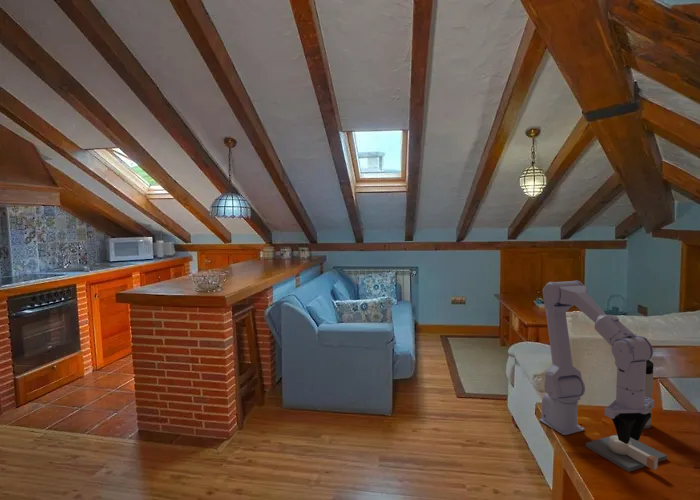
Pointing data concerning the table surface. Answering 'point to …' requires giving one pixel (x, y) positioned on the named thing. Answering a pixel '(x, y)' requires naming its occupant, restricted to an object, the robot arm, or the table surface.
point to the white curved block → (632, 452)
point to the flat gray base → (623, 460)
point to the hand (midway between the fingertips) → (628, 439)
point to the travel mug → (649, 388)
